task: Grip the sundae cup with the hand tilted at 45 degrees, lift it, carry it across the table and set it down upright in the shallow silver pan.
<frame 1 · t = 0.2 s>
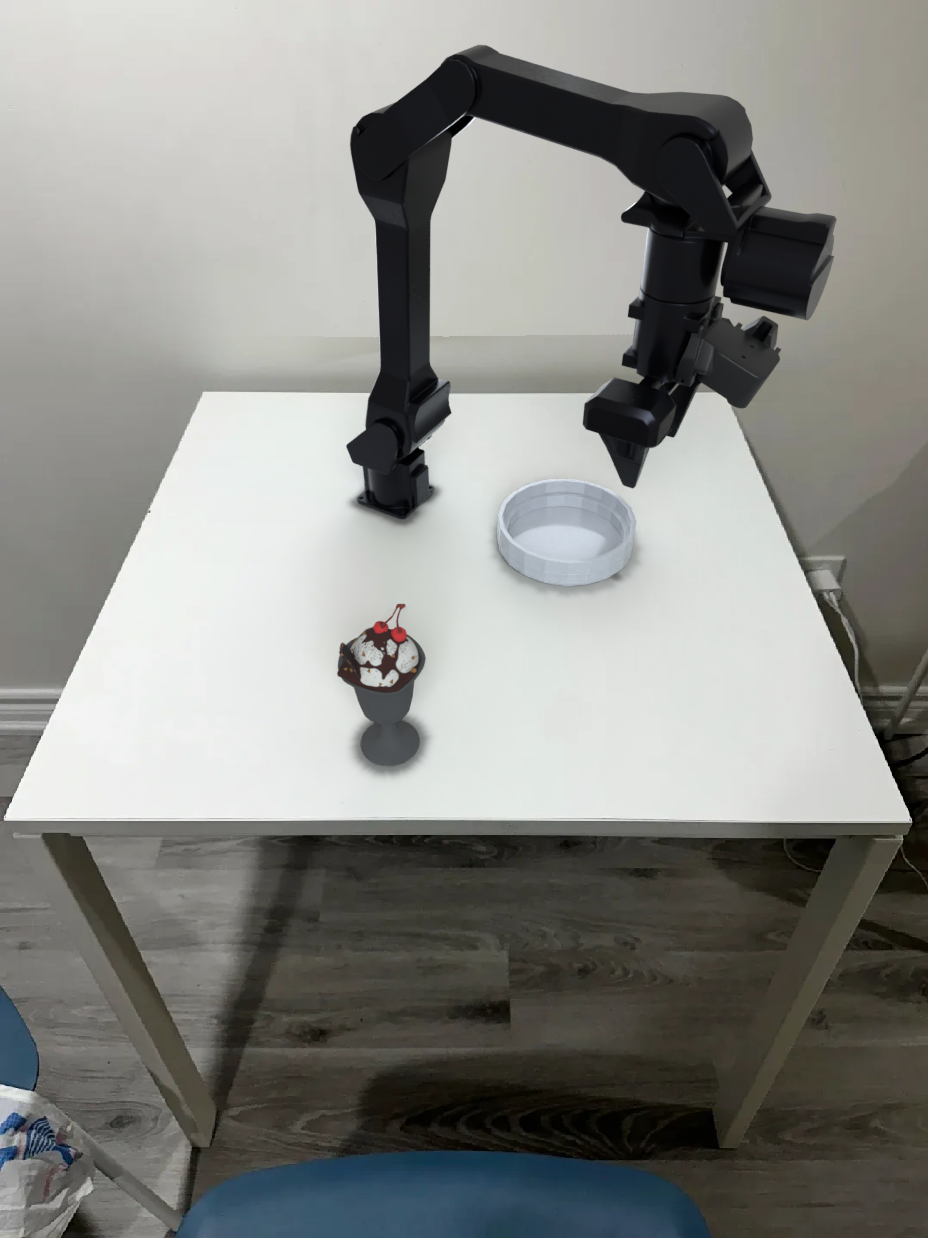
hand: (649, 460, 79), 15 cm above the table, tool pointing down, fingers open, 9 cm apart
sundae: (390, 743, 75), on the table
pan: (564, 544, 93), on the table
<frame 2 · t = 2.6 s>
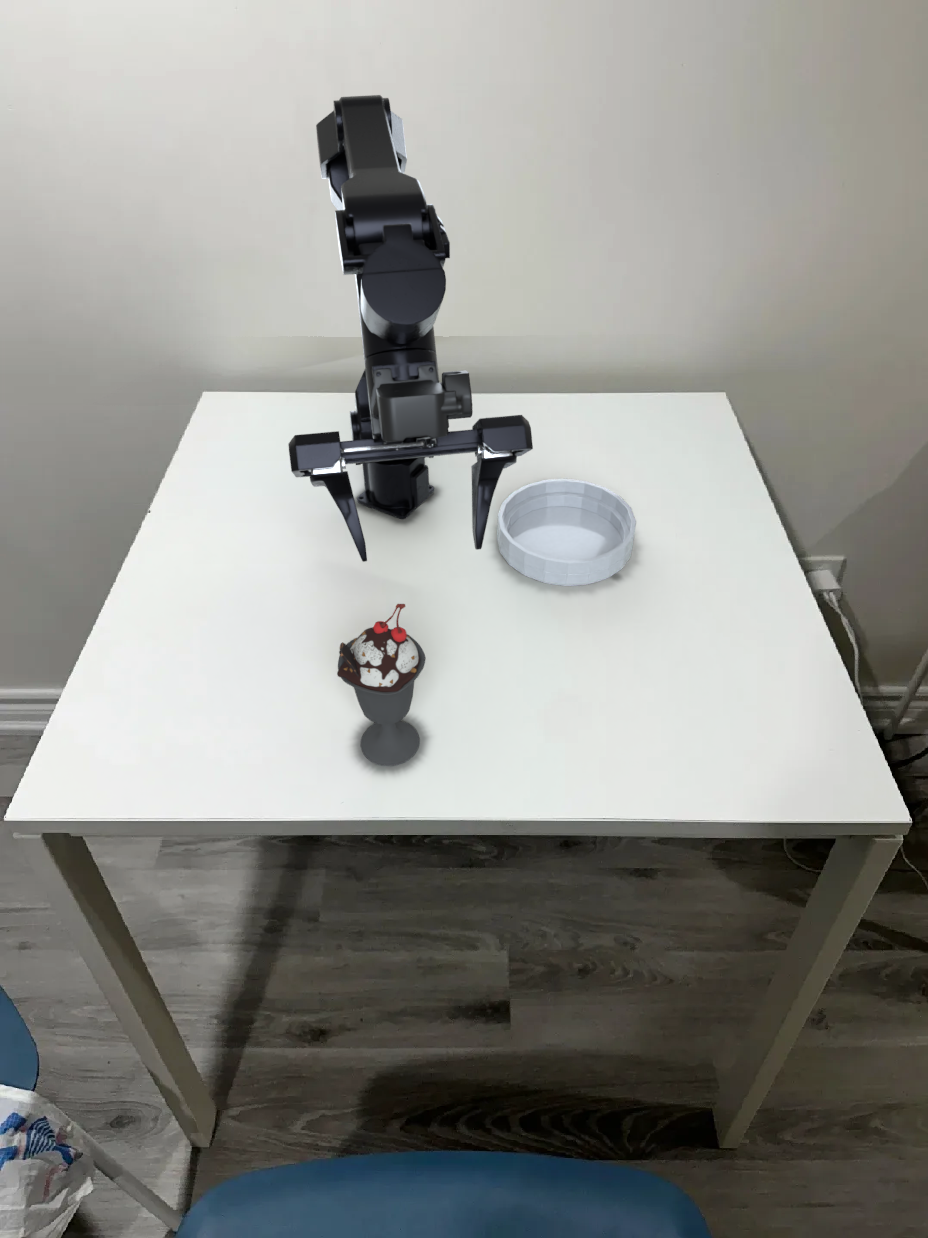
hand: (421, 555, 71), 14 cm above the table, tool tilted 40°, fingers open, 9 cm apart
nothing on the table moved.
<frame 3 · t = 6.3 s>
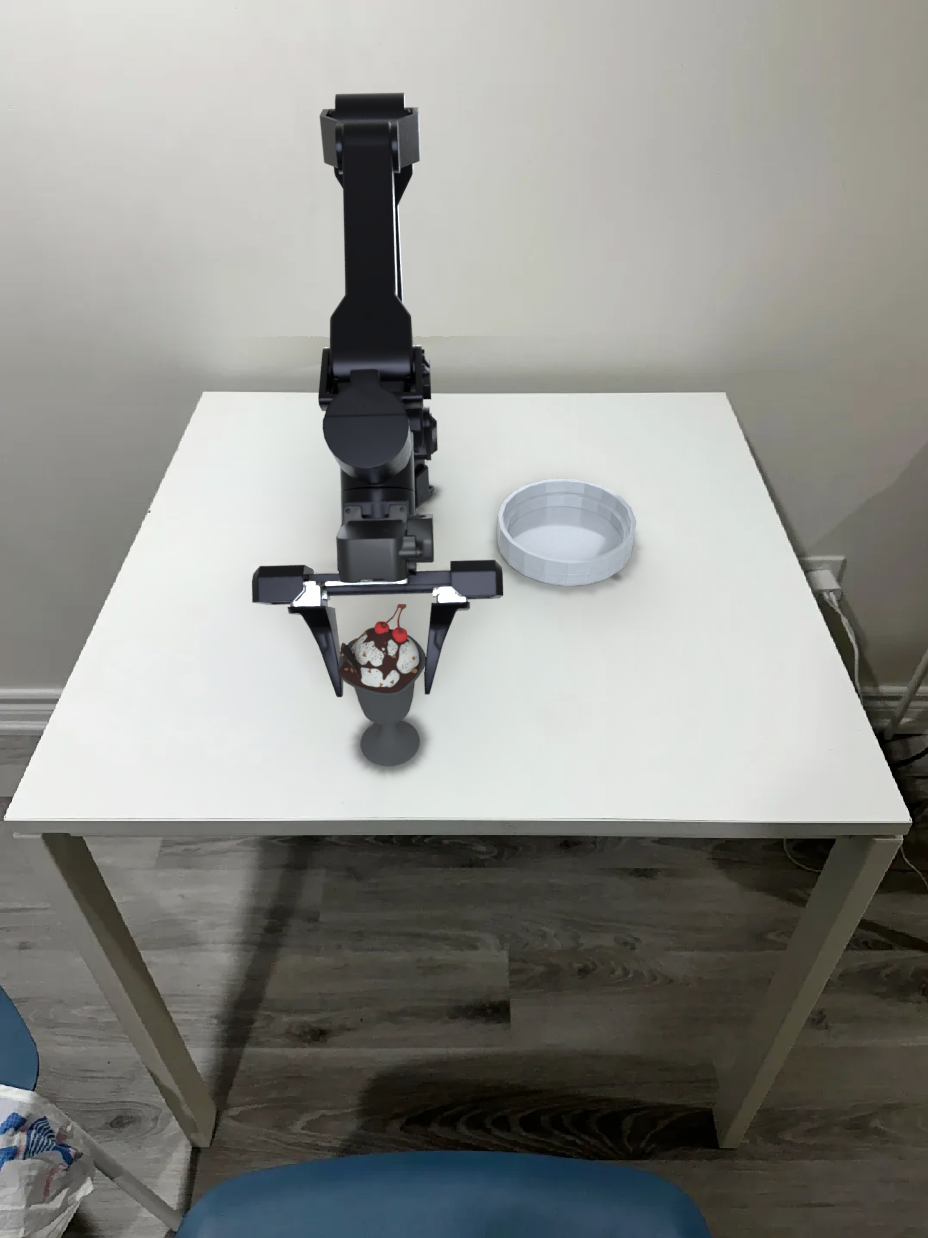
hand: (383, 695, 68), 8 cm above the table, tool tilted 45°, fingers closed on sundae, 6 cm apart
sundae: (390, 744, 75), on the table, touching gripper
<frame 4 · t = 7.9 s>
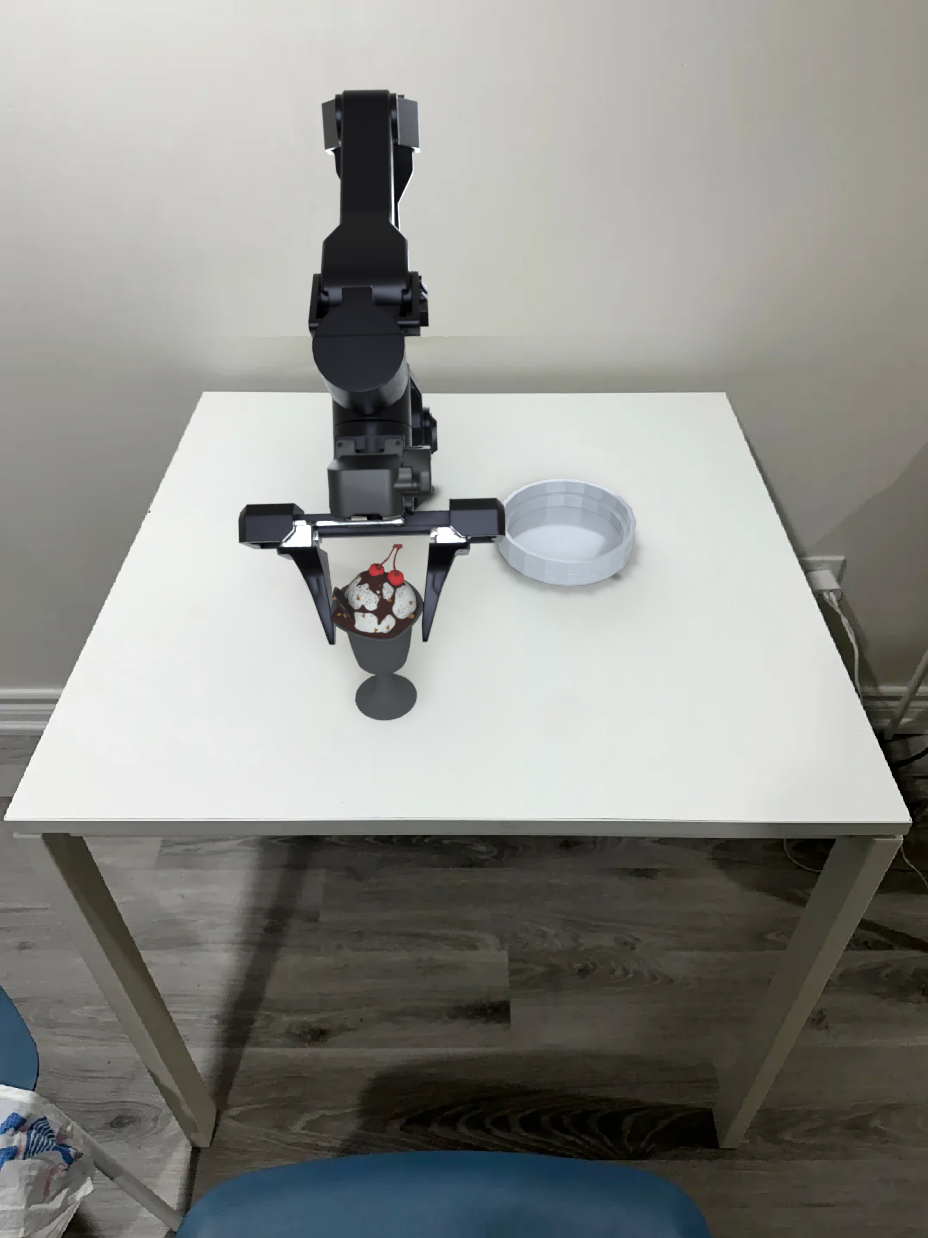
hand: (378, 643, 65), 13 cm above the table, tool tilted 45°, fingers closed on sundae, 6 cm apart
sundae: (386, 698, 71), point 5 cm above the table, touching gripper
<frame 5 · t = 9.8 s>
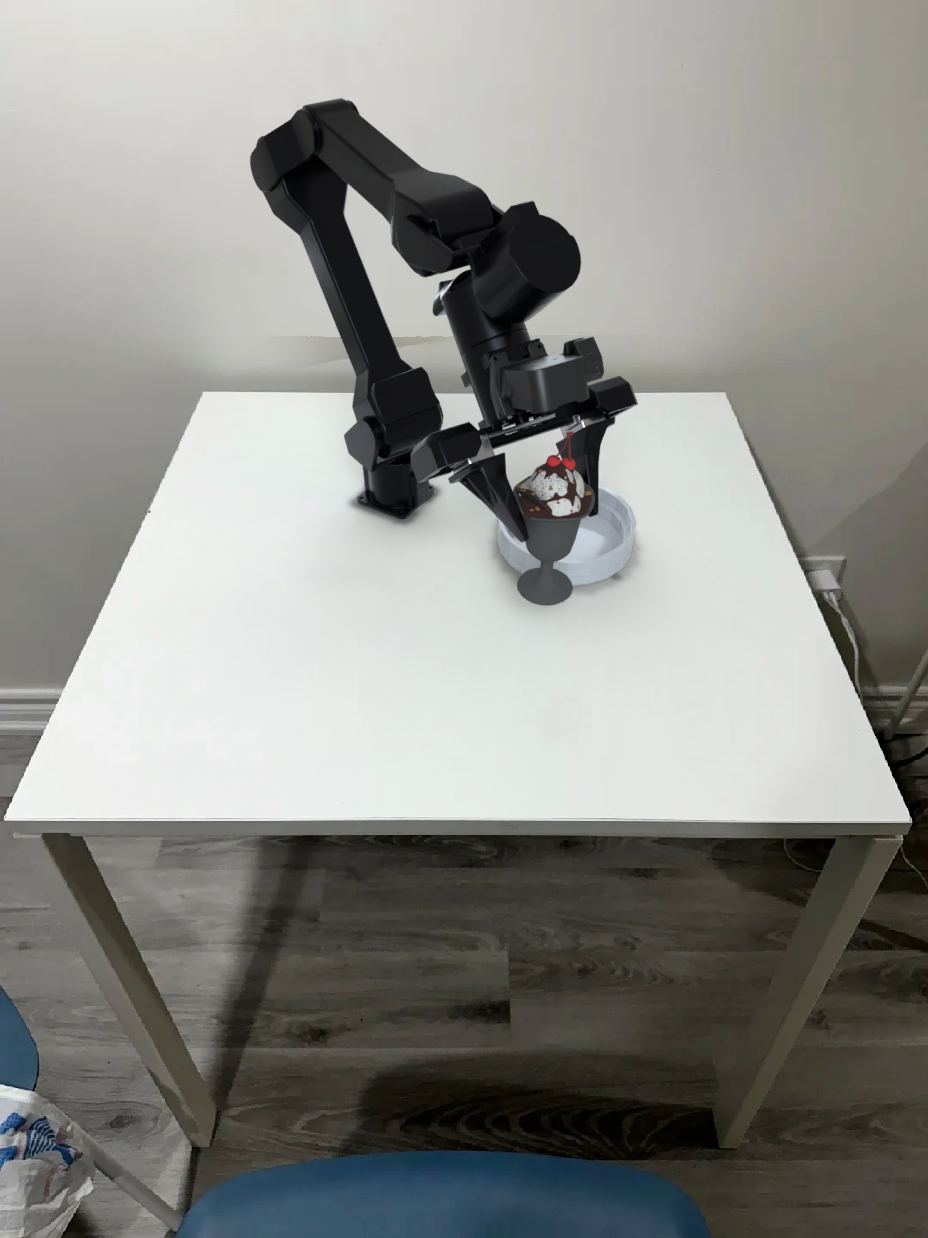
hand: (559, 528, 72), 14 cm above the table, tool tilted 45°, fingers closed on sundae, 6 cm apart
sundae: (544, 588, 79), point 6 cm above the table, touching gripper
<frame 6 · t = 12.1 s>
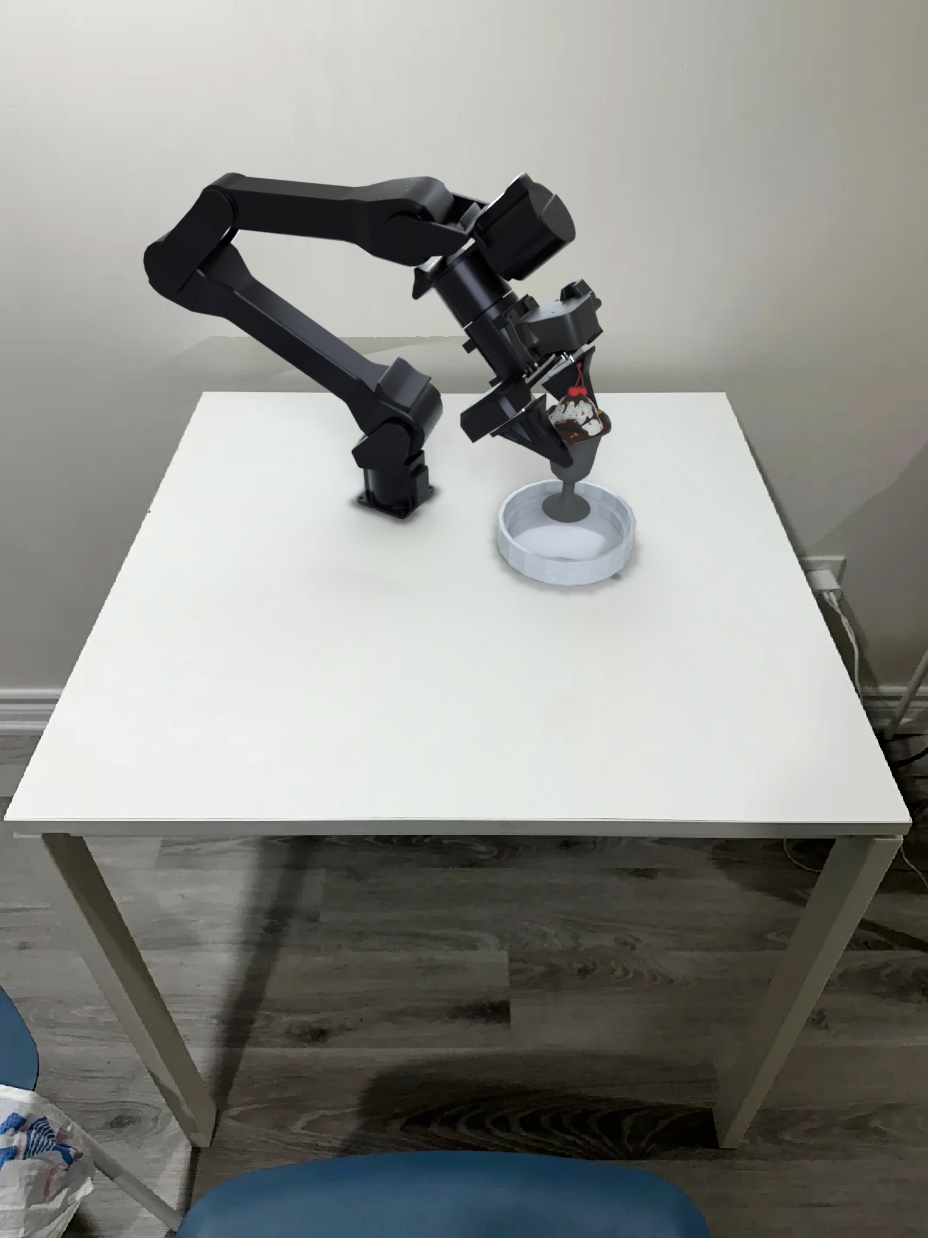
hand: (585, 448, 84), 12 cm above the table, tool tilted 45°, fingers closed on sundae, 6 cm apart
sundae: (565, 509, 90), point 5 cm above the table, touching gripper
when the fingers open (8 cm above the table, at t = 13.8 s): sundae stays where it is, resting on pan.
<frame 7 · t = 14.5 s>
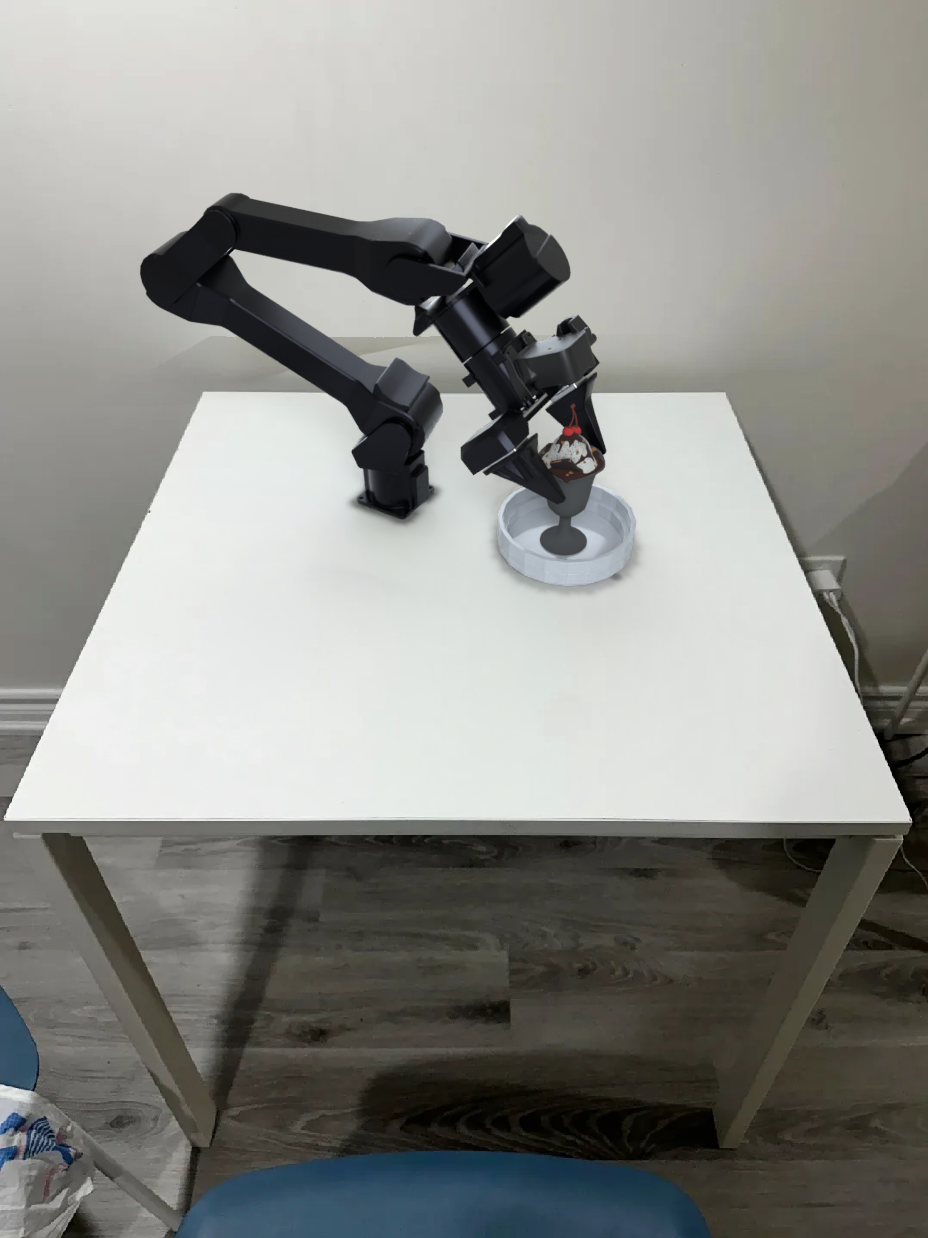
hand: (583, 477, 87), 9 cm above the table, tool tilted 45°, fingers open, 9 cm apart
sundae: (562, 541, 93), resting on pan
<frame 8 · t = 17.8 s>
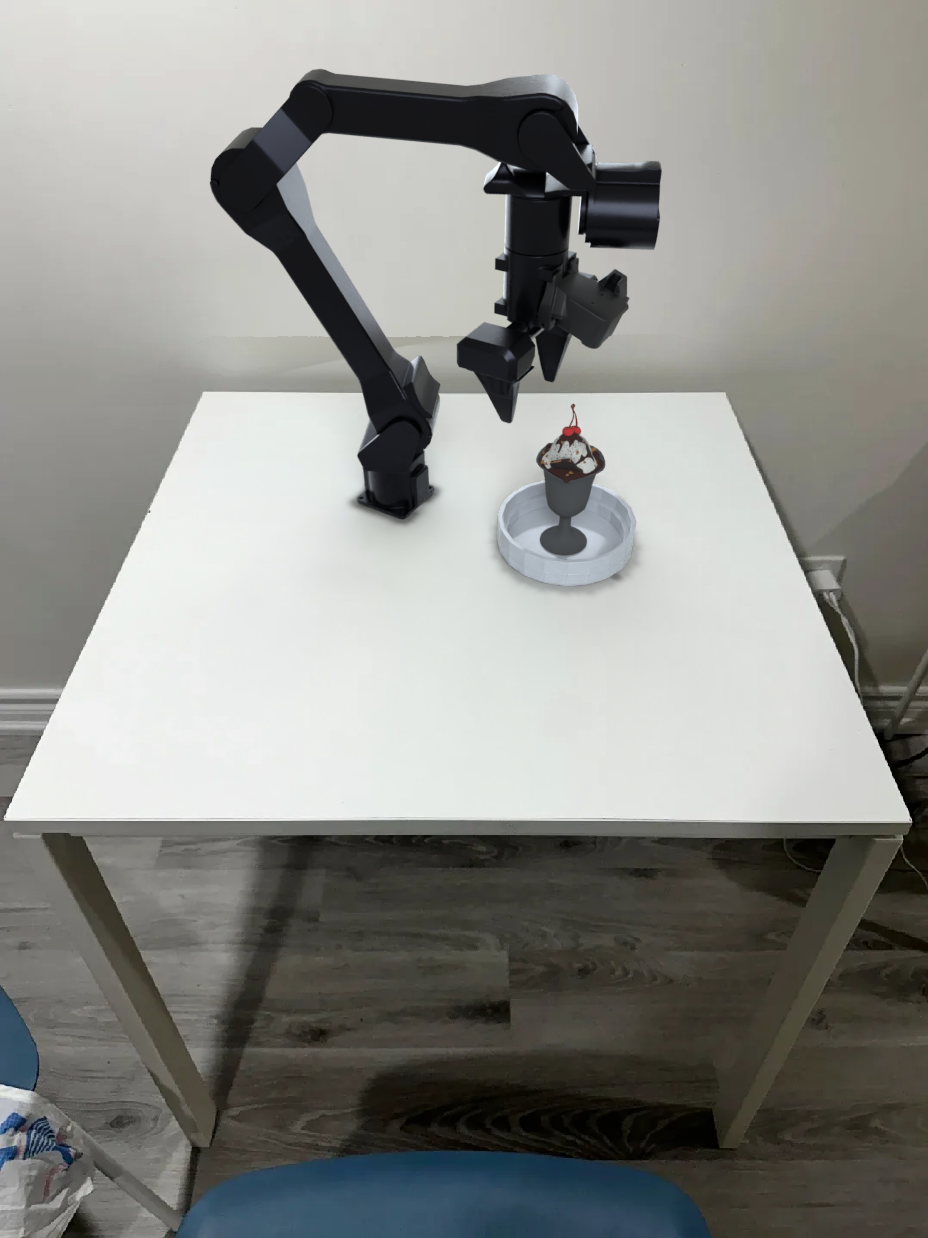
hand: (528, 400, 89), 13 cm above the table, tool pointing down, fingers open, 9 cm apart
nothing on the table moved.
at the end: sundae inside the target area in the pan (0.2 cm from its centre), point 0.3 cm above the pan's base; sundae tilted 0°; the gripper is holding nothing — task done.
